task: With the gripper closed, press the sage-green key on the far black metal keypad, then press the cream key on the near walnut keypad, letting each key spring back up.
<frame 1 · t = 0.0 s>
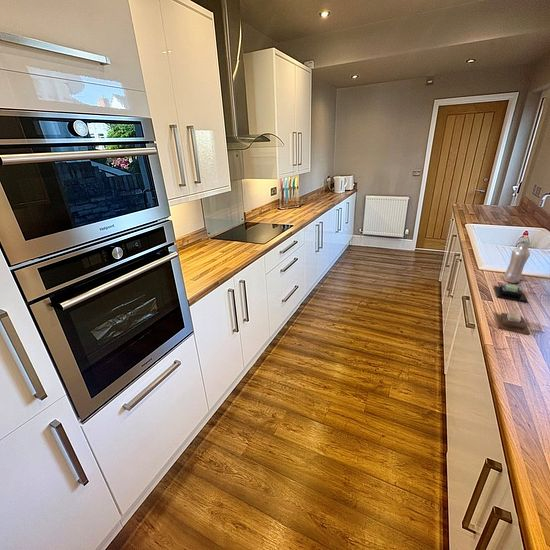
keypad near: (510, 325, 109), on the counter
key near: (513, 317, 107), point 3 cm above the counter, slide at 0.1 cm
plastic bottle: (510, 282, 140), on the counter
keypad far: (508, 295, 129), on the counter
key far: (511, 288, 127), point 3 cm above the counter, slide at 0.1 cm
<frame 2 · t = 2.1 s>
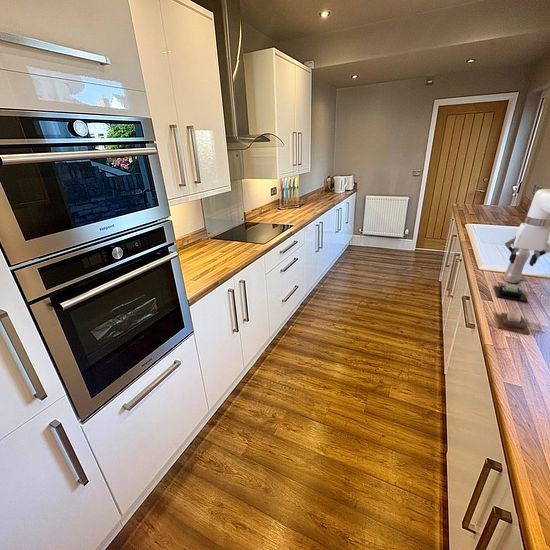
hand: (521, 263, 122), 16 cm above the counter, tool pointing down, fingers open, 5 cm apart
nothing on the counter moved.
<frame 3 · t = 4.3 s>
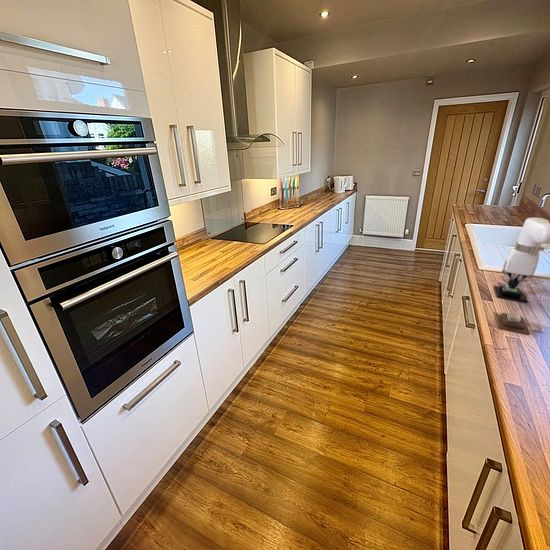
hand: (511, 287, 127), 4 cm above the counter, tool pointing down, fingers closed
key far: (511, 289, 127), point 3 cm above the counter, slide at -0.3 cm, touching gripper
everything else where it was.
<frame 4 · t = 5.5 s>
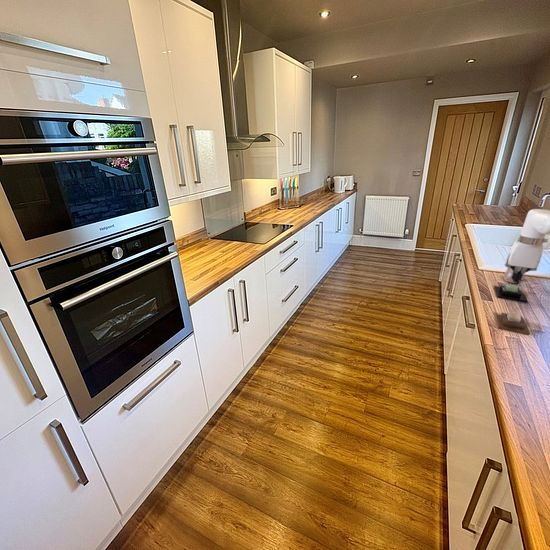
hand: (515, 280, 125), 7 cm above the counter, tool pointing down, fingers closed
key far: (511, 288, 127), point 3 cm above the counter, slide at 0.1 cm
everything else where it was.
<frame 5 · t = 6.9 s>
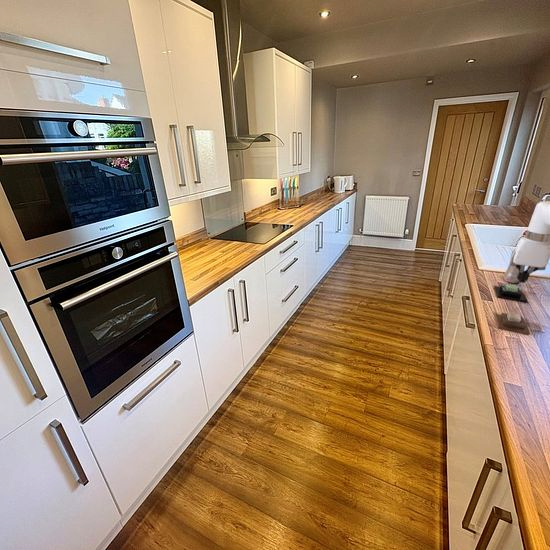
hand: (521, 281, 113), 13 cm above the counter, tool pointing down, fingers closed
nothing on the counter moved.
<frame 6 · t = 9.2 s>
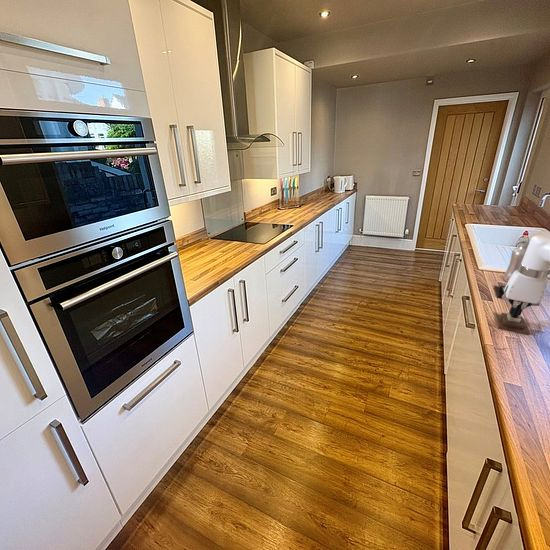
hand: (513, 315, 107), 4 cm above the counter, tool pointing down, fingers closed
key near: (513, 318, 107), point 3 cm above the counter, slide at -0.1 cm, touching gripper
everything else where it was.
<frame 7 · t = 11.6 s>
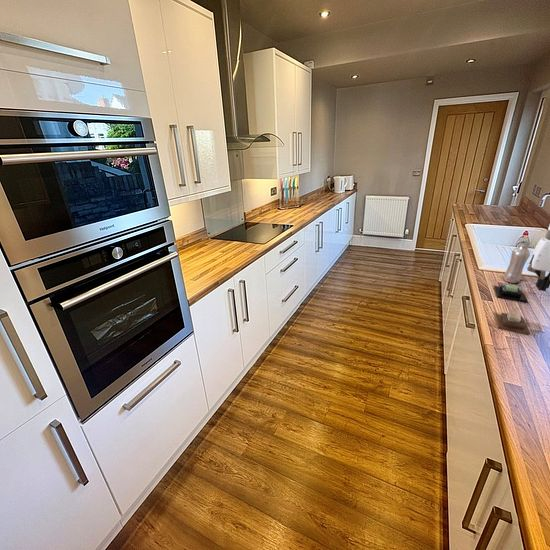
hand: (540, 289, 97), 18 cm above the counter, tool pointing down, fingers closed
key near: (513, 317, 107), point 3 cm above the counter, slide at 0.1 cm
everything else where it was.
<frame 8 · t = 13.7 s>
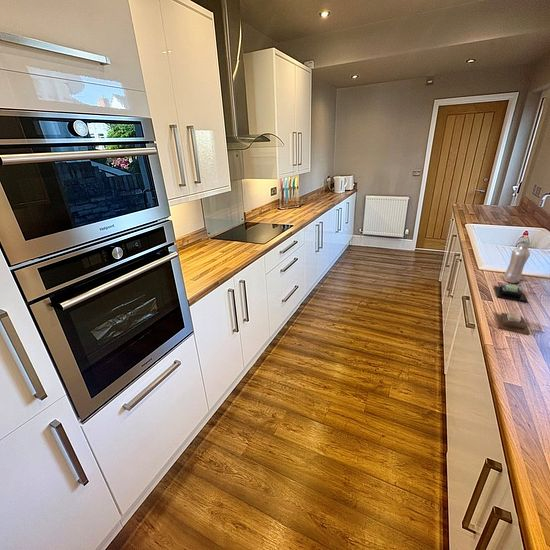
nothing on the counter moved.
at the end: key far pushed in 1.1 cm at the most during the clip, back to where it started at the end; key near pushed in 1.1 cm at the most during the clip, back to where it started at the end; key near slide at 0.1 cm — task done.
